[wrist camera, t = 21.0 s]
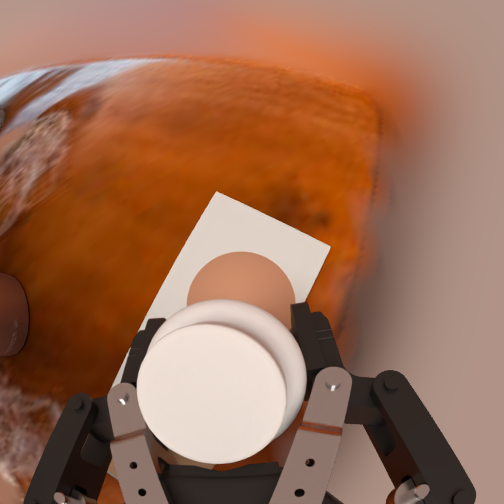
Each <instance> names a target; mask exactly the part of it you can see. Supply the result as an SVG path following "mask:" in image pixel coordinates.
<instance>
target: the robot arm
mask: <svg viewBox="0 0 504 504" xmlns="http://www.w3.org/2000/svg"><path fill="white" fill-rule="evenodd" d="M290 311H291V330H292V335H293V337H294V338H295V340H296V342H297V343H298V345H299V347H300V349H301V352H302V355H303V358H304V362H305V366H306V376H307V383H306V392H305V396H304V401H308V400H309V402H308V405H307V408H306V411H305V414H304V417H303V420H302V423H301V424H300V425H299V427H298V430H297V432H296V435H295V438H294V441H293V444H292V447H291V449H290V452H289V455H288V458H287V460H286V463H285V465H284V467H279V465H278V462H271V463H261V464H250V465H246V466H243V467H239V468H235V469H232V470H228V471H223V472H221V471H216V470H211V469H207V468H203V467H199V466H195V465H179V463H178V462H177V460H176V459H175V457H174V455H173V454H172V451H171V449H169V448H168V447H167V446H166V445H164V444H163V443H162V442H161V441H160V440H159V439H158V438H157V437H156V436H155V435H154V433H153V432H152V431H151V430H150V428H149V427H148V425H147V423H146V422H145V420H144V418H143V415H142V413H141V410H140V407H139V403H138V398H137V378H138V373H139V370H140V367H141V364H142V362H143V360H144V358H145V356H146V353H147V350H148V348H149V345H150V343H151V341H152V339H153V337H154V335H155V334H156V332H157V331H158V329H159V328H160V327H161V325H162V324H163V323H164V322H165V321H166V319H165V318H151V319H148V321H147V324H146V327H145V330H139V332H138V333H137V334H136V336H135V337H134V338H133V341H132V344H131V347H130V348H131V349H130V351H129V354H128V355H129V356H128V357H127V361H126V364H125V368H124V371H123V375H122V378H121V382H120V384H117V385H115V386H114V387H113V388H112V389H111V390H110V391H109V393H108V395H107V396H103V397H99V398H95V399H91V398H90V397H89V396H88V395H87V394H85V393H78V394H75V395H73V396H72V397H71V398H70V399H69V400H68V402H67V404H66V406H65V408H64V410H63V412H62V414H61V416H60V418H59V420H58V422H57V424H56V426H55V428H54V430H53V432H52V435H51V437H50V439H49V441H48V443H47V445H46V448H45V450H44V452H43V454H42V457H41V459H40V461H39V464H38V466H37V468H36V471H35V473H34V476H33V478H32V481H31V483H30V486H29V488H28V491H27V494H26V496H25V499H24V504H98V503H97V499H98V497H99V494H100V491H101V488H102V485H103V482H104V479H105V476H106V474H107V471H108V468H109V465H110V463H111V460H112V457H113V461H114V465H115V469H116V473H117V477H118V480H119V484H120V487H121V490H122V494H123V497H124V500H125V503H124V504H343V503H342V502H341V501H339V500H338V499H337V498H335V497H334V496H333V495H331V494H330V493H329V492H327V491H326V489H327V486H328V482H329V479H330V476H331V473H332V469H333V466H334V462H335V458H336V455H337V451H338V447H339V444H340V440H341V435H342V428H343V424H344V423H346V424H362V425H363V426H364V428H365V430H366V432H367V434H368V436H369V438H370V440H371V441H372V444H373V446H374V447H375V449H376V451H377V453H378V455H379V457H380V459H381V461H382V463H383V465H384V467H385V469H386V471H387V472H388V475H389V477H390V479H391V481H392V483H393V485H394V487H395V489H393V490H392V491H391V492H390V494H389V495H388V497H387V499H386V504H474V502H475V499H476V491H475V488H474V486H473V484H472V483H471V481H470V479H469V478H468V476H467V474H466V472H465V470H464V469H463V467H462V465H461V464H460V462H459V460H458V458H457V457H456V455H455V454H454V452H453V450H452V449H451V447H450V445H449V444H448V442H447V441H446V439H445V437H444V436H443V434H442V432H441V431H440V429H439V428H438V426H437V424H436V423H435V421H434V420H433V418H432V417H431V415H430V414H429V412H428V411H427V409H426V407H425V406H424V405H423V403H422V401H421V400H420V398H419V397H418V395H417V394H416V392H415V391H414V389H413V388H412V386H411V385H410V383H409V382H408V380H407V379H406V378H405V377H404V375H403V374H401V373H400V372H397V371H393V370H388V371H384V372H381V373H380V374H379V375H377V377H376V378H368V377H358V376H355V375H352V374H351V373H349V372H348V371H347V370H346V369H345V368H344V366H343V364H342V361H341V358H340V354H339V351H338V348H337V345H336V342H335V339H334V337H333V333H332V330H331V327H330V324H329V321H328V319H327V318H326V317H325V316H324V315H323V314H322V313H321V312H314V313H310V309H309V306H308V303H307V302H302V303H295V304H290ZM28 325H29V312H28V304H27V299H26V295H25V293H24V290H23V288H22V286H21V284H20V283H19V282H18V280H17V279H16V278H14V277H13V276H10V275H7V274H3V273H0V356H12V355H15V354H17V353H18V352H19V351H20V350H21V348H22V347H23V345H24V343H25V341H26V337H27V333H28ZM88 433H89V436H88ZM87 436H88V438H87ZM86 438H87V440H86ZM85 440H86V443H85ZM84 443H85V445H84ZM83 445H84V448H83V450H82V447H83ZM81 450H82V452H81Z"/></svg>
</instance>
